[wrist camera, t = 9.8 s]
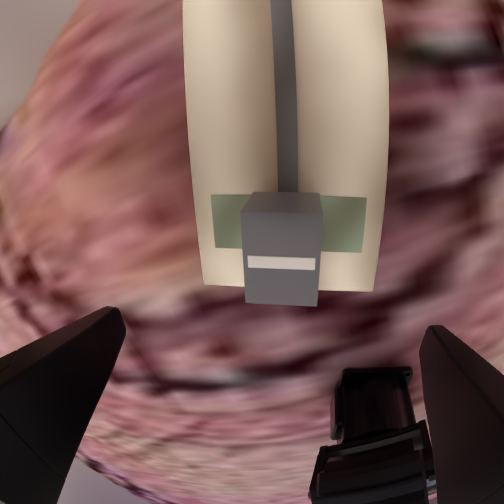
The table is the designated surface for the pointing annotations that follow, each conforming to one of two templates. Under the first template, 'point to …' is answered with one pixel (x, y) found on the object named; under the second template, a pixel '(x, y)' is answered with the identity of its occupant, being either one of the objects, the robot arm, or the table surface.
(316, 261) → the fader knob
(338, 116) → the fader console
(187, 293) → the table surface
